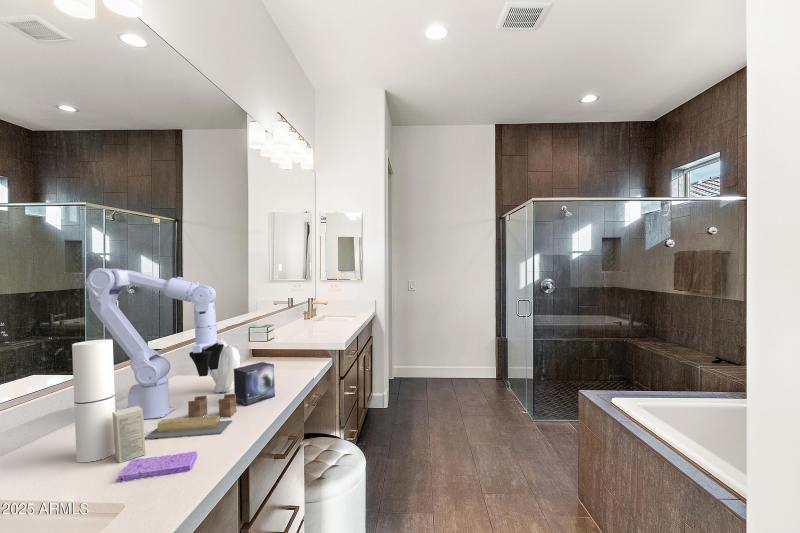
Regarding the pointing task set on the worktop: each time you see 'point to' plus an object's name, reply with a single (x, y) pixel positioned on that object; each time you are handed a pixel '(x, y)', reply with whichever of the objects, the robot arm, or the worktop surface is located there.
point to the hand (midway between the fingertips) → (208, 372)
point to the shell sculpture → (225, 368)
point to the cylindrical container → (94, 399)
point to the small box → (254, 383)
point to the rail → (188, 424)
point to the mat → (190, 432)
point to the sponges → (158, 466)
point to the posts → (200, 406)
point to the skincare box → (128, 433)
